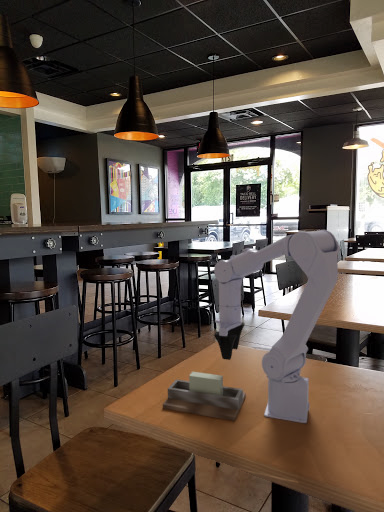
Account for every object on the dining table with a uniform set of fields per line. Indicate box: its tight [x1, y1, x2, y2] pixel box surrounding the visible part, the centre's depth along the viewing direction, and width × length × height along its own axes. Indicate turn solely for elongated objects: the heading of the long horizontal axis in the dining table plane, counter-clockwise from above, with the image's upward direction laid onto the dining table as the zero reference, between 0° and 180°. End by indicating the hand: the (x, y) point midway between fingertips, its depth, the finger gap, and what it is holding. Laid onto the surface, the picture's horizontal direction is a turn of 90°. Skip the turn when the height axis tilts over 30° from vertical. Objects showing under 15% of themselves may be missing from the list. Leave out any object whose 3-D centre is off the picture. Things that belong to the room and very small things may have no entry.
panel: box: [188, 371, 224, 396], centre depth 93 cm, size 8×2×6 cm, turn 70°
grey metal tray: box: [162, 378, 247, 422], centre depth 93 cm, size 18×12×4 cm, turn 70°
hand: (230, 353), depth 100 cm, fingers open, 7 cm apart
